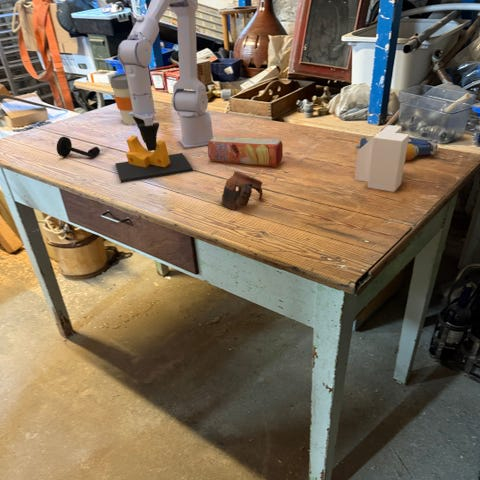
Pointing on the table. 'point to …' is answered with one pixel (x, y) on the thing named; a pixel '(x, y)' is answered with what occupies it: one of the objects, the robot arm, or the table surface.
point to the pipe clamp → (147, 154)
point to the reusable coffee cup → (122, 97)
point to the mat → (153, 169)
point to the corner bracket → (383, 159)
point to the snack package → (246, 150)
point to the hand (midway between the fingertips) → (149, 146)
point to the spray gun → (412, 146)
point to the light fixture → (66, 147)
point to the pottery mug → (240, 190)
